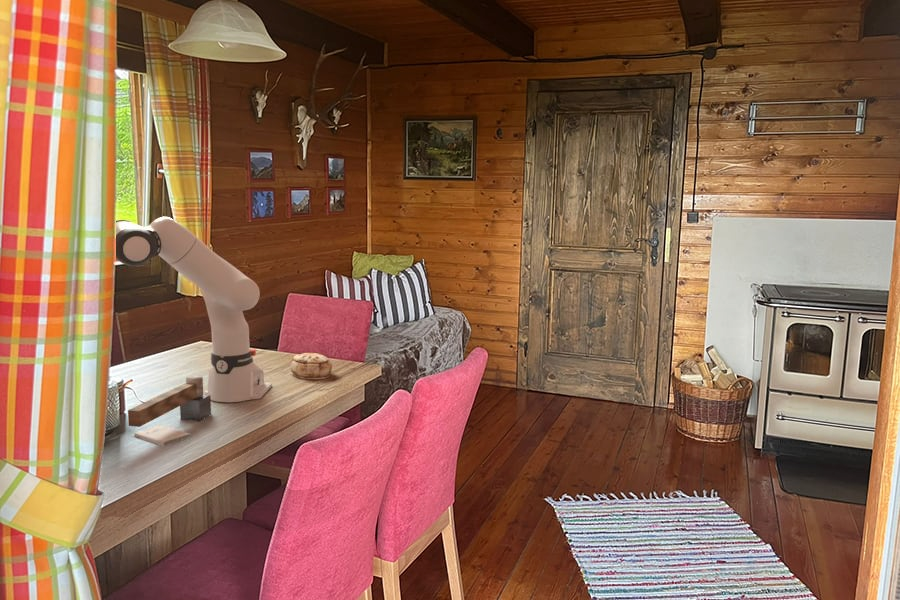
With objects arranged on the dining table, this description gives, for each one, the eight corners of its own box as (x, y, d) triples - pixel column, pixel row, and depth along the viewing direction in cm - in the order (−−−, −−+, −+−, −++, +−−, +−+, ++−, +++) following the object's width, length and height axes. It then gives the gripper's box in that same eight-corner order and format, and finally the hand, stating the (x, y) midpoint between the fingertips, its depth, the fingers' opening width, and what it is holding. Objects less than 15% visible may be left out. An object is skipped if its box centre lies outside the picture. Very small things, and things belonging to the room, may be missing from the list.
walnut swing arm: (192, 392, 207) (191, 375, 206) (206, 393, 206) (205, 376, 205) (126, 425, 178) (125, 406, 177) (142, 427, 177) (141, 407, 176)
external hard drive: (163, 448, 183) (134, 438, 189) (191, 439, 189) (161, 429, 196) (163, 442, 182) (134, 432, 189) (190, 433, 189) (161, 424, 196)
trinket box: (328, 381, 245) (328, 358, 244) (284, 380, 245) (284, 357, 244) (335, 371, 258) (335, 349, 257) (294, 370, 258) (293, 348, 257)
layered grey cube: (192, 413, 209) (191, 393, 208) (211, 414, 207) (210, 394, 206) (180, 419, 203) (179, 399, 202) (200, 421, 202) (199, 400, 201)
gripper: (35, 399, 181) (84, 403, 178) (91, 377, 201) (135, 381, 198) (37, 423, 182) (85, 427, 179) (92, 399, 202) (136, 403, 199)
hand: (112, 403), depth 189 cm, fingers closed
